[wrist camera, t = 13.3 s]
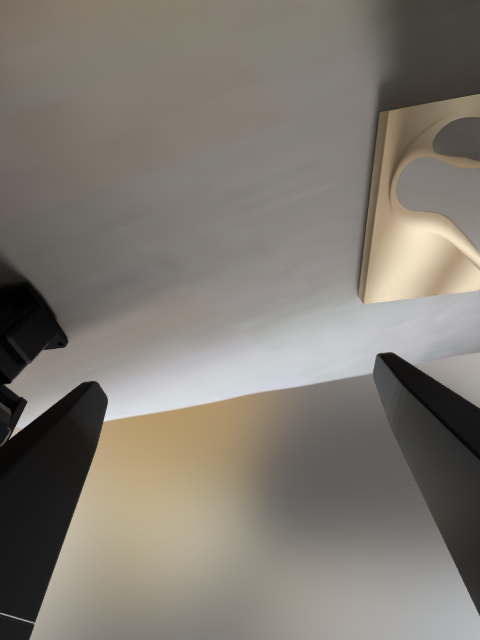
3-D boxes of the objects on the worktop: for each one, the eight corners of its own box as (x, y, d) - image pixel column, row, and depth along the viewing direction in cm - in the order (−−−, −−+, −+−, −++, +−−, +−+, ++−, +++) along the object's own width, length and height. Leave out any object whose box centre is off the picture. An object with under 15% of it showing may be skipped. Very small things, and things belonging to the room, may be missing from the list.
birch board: (358, 296, 22) (363, 304, 21) (379, 112, 15) (389, 110, 14) (518, 276, 21) (531, 283, 20) (620, 67, 14) (648, 63, 13)
